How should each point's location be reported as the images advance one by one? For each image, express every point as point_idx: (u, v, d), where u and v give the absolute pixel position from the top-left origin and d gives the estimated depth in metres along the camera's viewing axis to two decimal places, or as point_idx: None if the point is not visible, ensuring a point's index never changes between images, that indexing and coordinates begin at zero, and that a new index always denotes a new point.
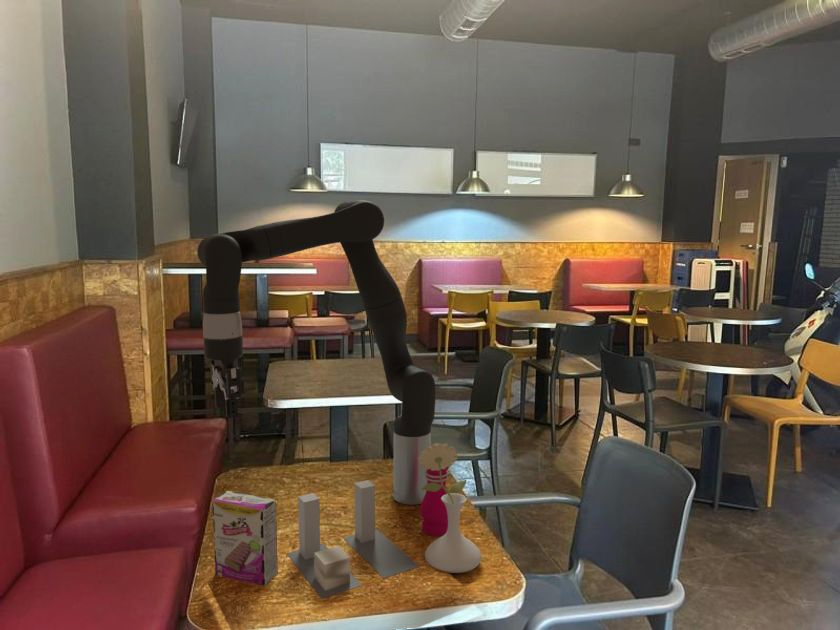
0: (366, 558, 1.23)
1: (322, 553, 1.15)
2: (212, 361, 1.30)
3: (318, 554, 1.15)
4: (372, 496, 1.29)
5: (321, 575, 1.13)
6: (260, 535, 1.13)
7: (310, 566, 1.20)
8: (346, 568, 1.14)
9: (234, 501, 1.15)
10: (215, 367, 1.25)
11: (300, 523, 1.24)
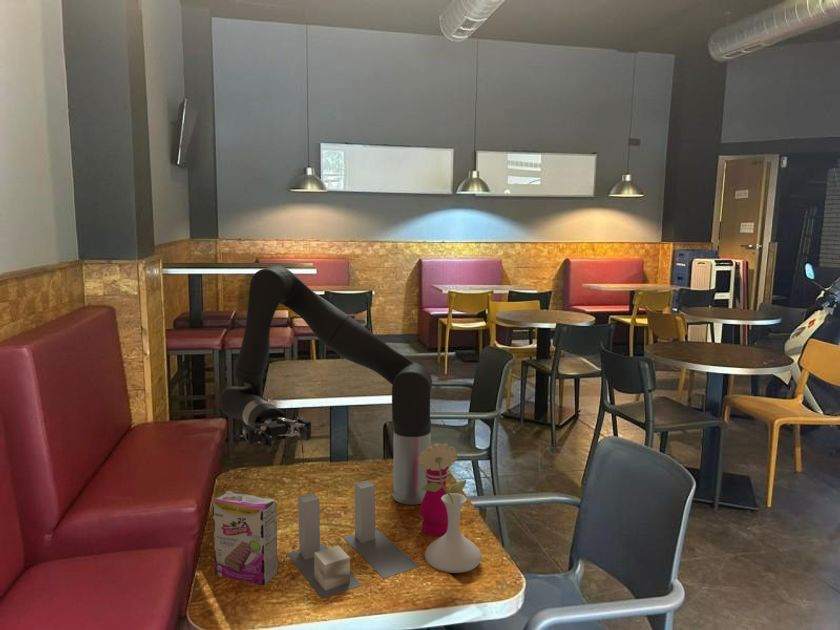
0: (366, 558, 1.23)
1: (322, 553, 1.15)
2: None
3: (318, 554, 1.15)
4: (372, 496, 1.29)
5: (321, 575, 1.13)
6: (260, 535, 1.13)
7: (310, 566, 1.20)
8: (346, 568, 1.14)
9: (234, 501, 1.15)
10: None
11: (300, 523, 1.24)
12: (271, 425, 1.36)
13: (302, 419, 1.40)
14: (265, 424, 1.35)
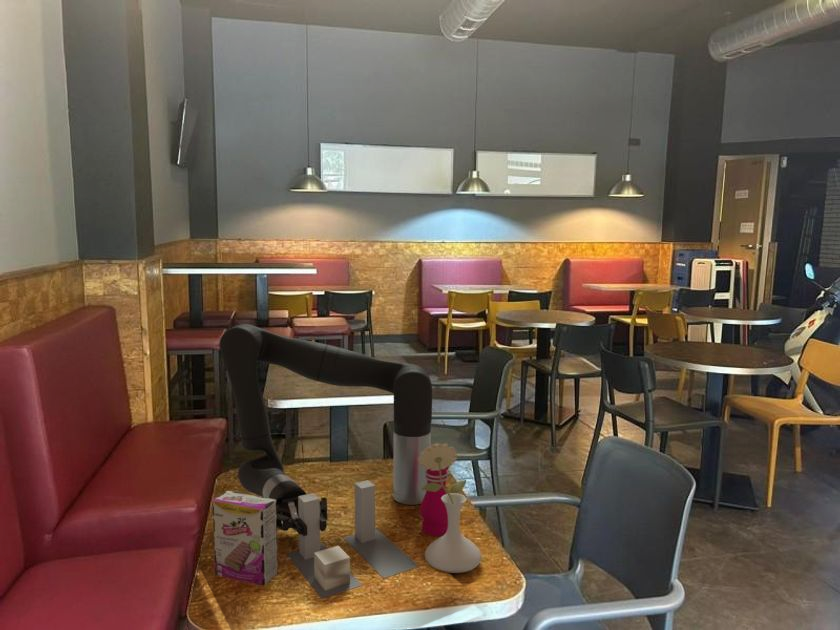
0: (366, 558, 1.23)
1: (322, 553, 1.15)
2: None
3: (318, 554, 1.15)
4: (372, 496, 1.29)
5: (321, 575, 1.13)
6: (260, 535, 1.13)
7: (310, 566, 1.20)
8: (346, 568, 1.14)
9: (234, 501, 1.15)
10: None
11: None
12: (296, 507, 1.28)
13: (322, 503, 1.30)
14: (292, 508, 1.27)
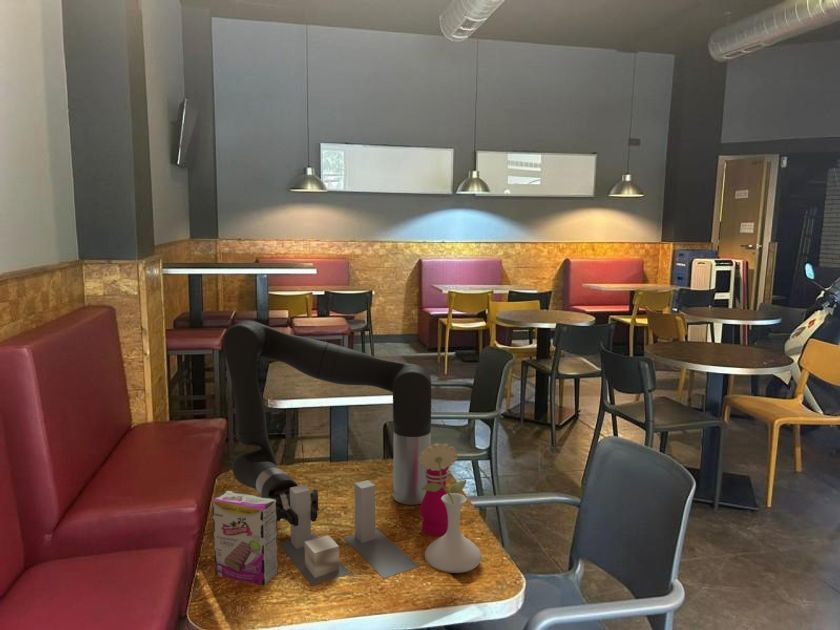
0: (366, 558, 1.23)
1: (312, 542, 1.19)
2: None
3: (308, 543, 1.19)
4: (372, 496, 1.29)
5: (311, 562, 1.17)
6: (260, 535, 1.13)
7: (301, 555, 1.24)
8: (335, 556, 1.18)
9: (234, 501, 1.15)
10: None
11: None
12: (288, 499, 1.32)
13: (313, 494, 1.34)
14: (284, 499, 1.31)
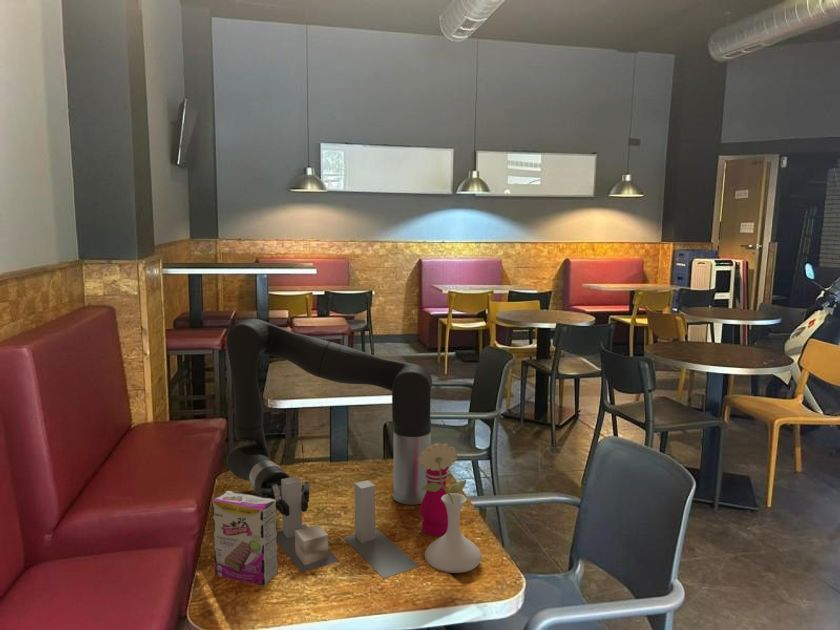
0: (366, 558, 1.23)
1: (303, 531, 1.24)
2: None
3: (298, 532, 1.23)
4: (372, 496, 1.29)
5: (301, 551, 1.22)
6: (260, 535, 1.13)
7: (292, 544, 1.29)
8: (324, 545, 1.22)
9: (234, 501, 1.15)
10: None
11: None
12: (280, 490, 1.37)
13: (305, 486, 1.39)
14: (276, 490, 1.35)
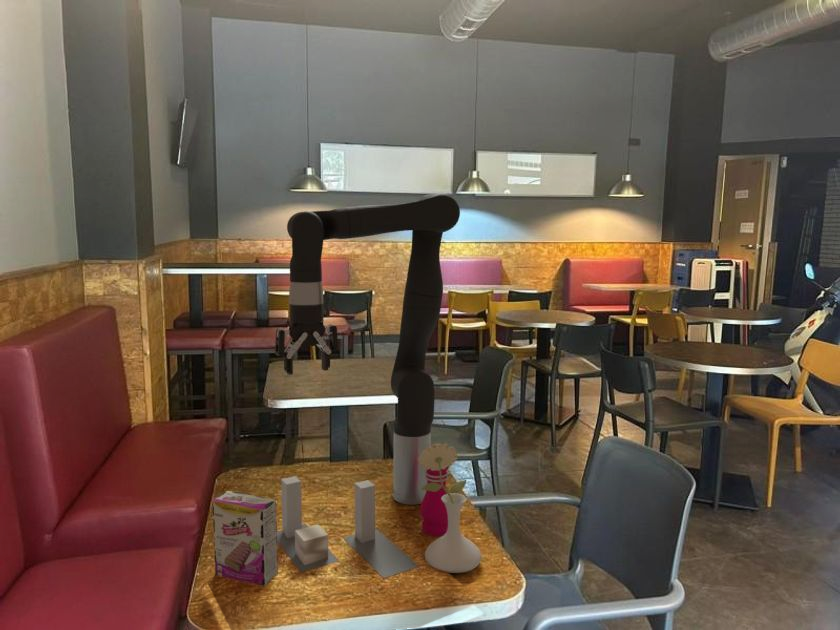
0: (366, 558, 1.23)
1: (302, 531, 1.24)
2: None
3: (298, 532, 1.23)
4: (372, 496, 1.29)
5: (301, 550, 1.22)
6: (260, 535, 1.13)
7: (292, 544, 1.29)
8: (324, 545, 1.22)
9: (234, 501, 1.15)
10: None
11: (283, 504, 1.32)
12: (303, 341, 1.38)
13: (333, 337, 1.42)
14: (298, 344, 1.37)
